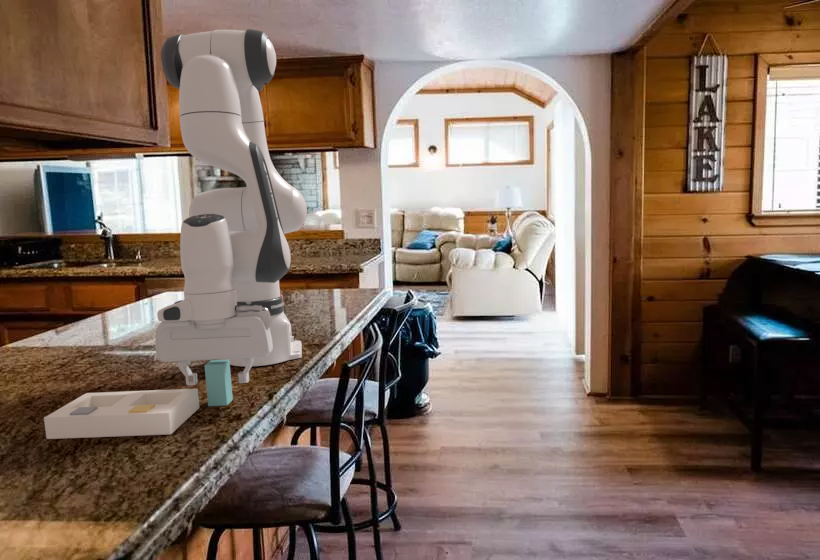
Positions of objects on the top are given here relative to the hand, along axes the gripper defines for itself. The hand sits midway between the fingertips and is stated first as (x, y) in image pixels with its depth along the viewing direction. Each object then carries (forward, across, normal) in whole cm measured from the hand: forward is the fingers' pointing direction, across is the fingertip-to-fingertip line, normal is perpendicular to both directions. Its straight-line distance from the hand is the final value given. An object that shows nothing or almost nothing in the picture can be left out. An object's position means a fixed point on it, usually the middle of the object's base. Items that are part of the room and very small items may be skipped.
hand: (218, 383), depth 119 cm
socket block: (+4, +13, +9) cm, 16 cm away
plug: (+4, 0, 0) cm, 4 cm away
